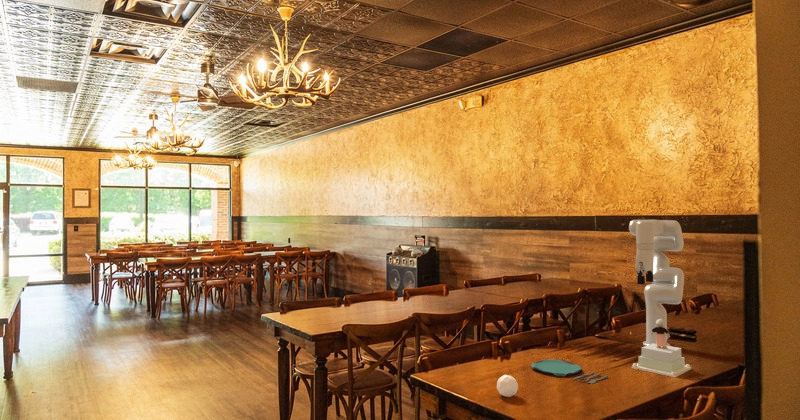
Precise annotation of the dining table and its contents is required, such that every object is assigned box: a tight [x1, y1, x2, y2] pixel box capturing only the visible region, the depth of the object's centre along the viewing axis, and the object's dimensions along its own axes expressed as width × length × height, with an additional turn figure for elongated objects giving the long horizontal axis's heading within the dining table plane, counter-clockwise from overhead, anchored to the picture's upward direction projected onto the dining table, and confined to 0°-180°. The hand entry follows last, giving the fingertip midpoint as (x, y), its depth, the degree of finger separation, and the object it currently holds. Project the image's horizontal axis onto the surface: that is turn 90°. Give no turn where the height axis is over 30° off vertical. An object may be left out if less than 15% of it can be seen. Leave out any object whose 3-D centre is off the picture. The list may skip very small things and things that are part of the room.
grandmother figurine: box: [650, 319, 671, 349], centre depth 229 cm, size 8×4×13 cm, turn 67°
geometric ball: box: [496, 374, 519, 398], centre depth 193 cm, size 8×8×8 cm
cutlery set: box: [530, 358, 609, 385], centre depth 222 cm, size 20×30×2 cm, turn 37°
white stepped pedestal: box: [631, 343, 692, 378], centre depth 229 cm, size 18×18×9 cm
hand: (645, 283), depth 247 cm, fingers open, 9 cm apart
